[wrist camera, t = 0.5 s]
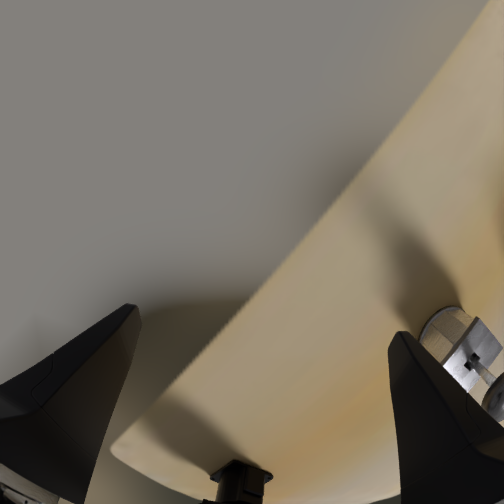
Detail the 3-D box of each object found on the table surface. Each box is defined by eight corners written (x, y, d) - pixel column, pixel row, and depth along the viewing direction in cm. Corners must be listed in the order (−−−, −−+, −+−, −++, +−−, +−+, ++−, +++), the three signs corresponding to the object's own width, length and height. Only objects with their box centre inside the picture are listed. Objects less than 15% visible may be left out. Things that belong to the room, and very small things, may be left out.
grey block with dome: (445, 375, 26) (468, 404, 20) (406, 346, 26) (431, 377, 20) (481, 330, 25) (509, 353, 19) (447, 294, 24) (480, 315, 18)
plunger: (459, 383, 21) (497, 430, 13) (436, 366, 21) (479, 418, 13) (490, 345, 20) (535, 384, 12) (470, 323, 20) (523, 364, 12)
